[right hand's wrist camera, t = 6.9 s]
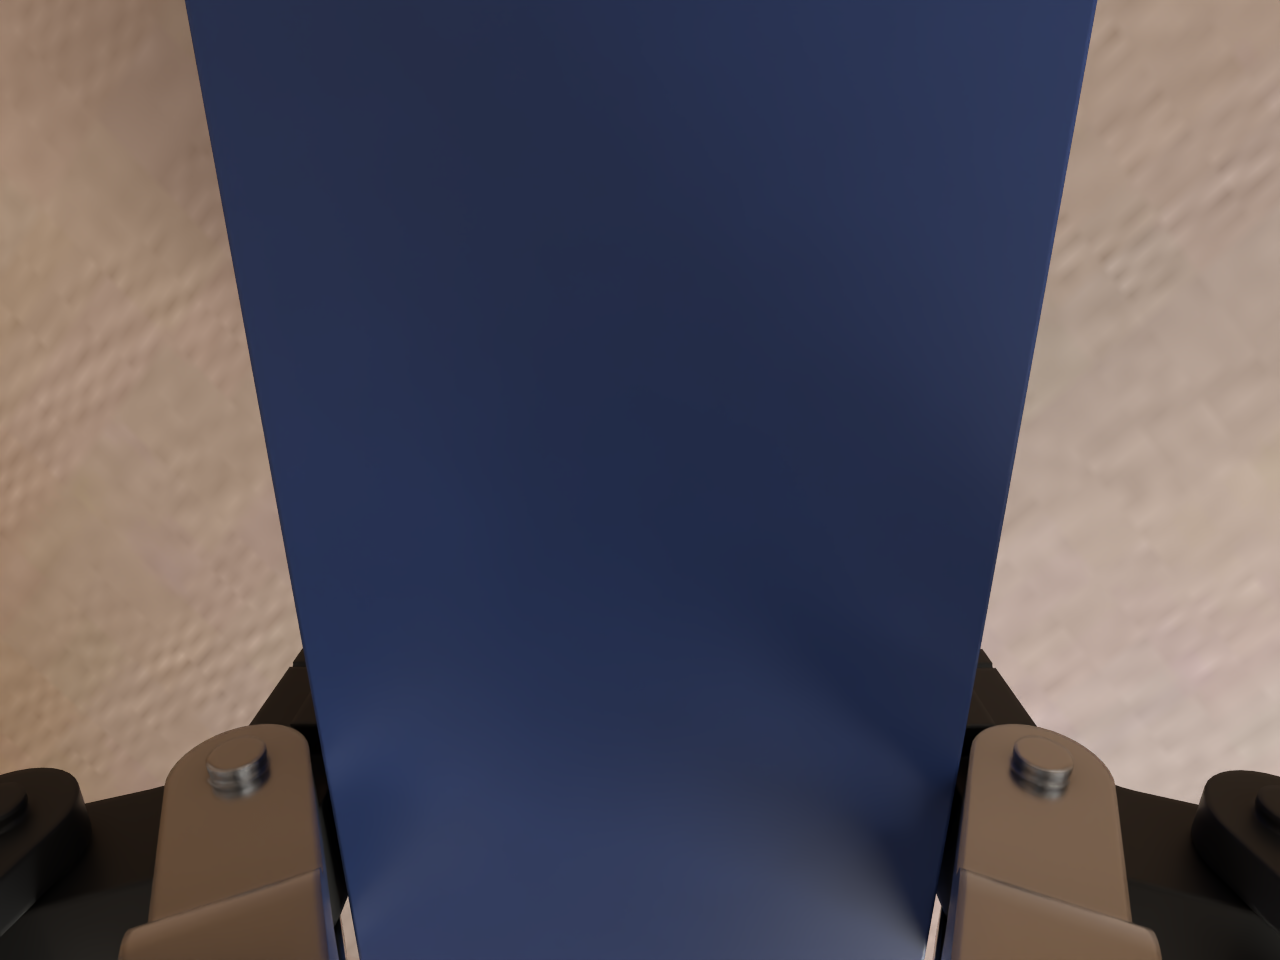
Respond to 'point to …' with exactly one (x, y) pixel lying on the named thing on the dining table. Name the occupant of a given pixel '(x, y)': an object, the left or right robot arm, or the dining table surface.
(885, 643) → the box
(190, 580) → the dining table surface
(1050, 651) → the dining table surface
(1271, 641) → the dining table surface
